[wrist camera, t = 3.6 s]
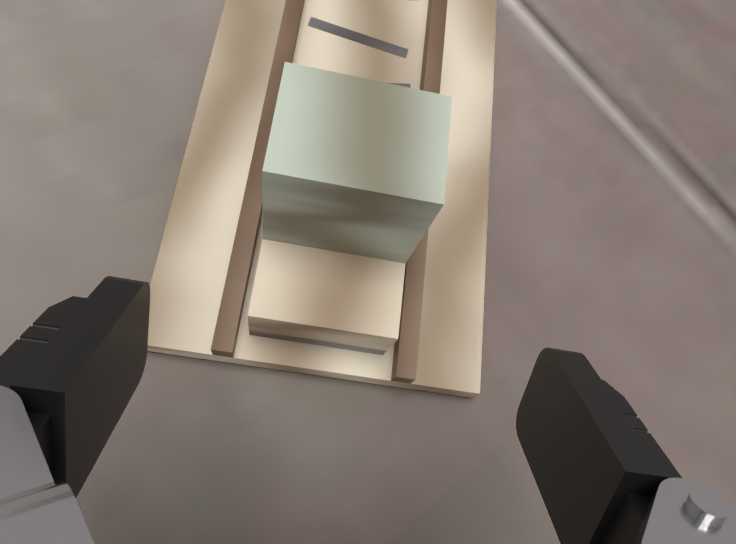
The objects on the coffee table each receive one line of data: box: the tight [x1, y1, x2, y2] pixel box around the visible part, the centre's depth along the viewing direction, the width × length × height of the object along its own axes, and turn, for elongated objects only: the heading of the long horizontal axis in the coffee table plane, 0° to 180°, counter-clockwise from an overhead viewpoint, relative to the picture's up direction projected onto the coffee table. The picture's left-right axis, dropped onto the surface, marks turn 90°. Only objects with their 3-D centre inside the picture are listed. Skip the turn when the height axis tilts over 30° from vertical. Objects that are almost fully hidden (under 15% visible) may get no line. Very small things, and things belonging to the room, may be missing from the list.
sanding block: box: [248, 62, 452, 355], centre depth 22 cm, size 6×10×8 cm, turn 174°
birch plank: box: [147, 0, 497, 397], centre depth 28 cm, size 14×25×2 cm, turn 174°
